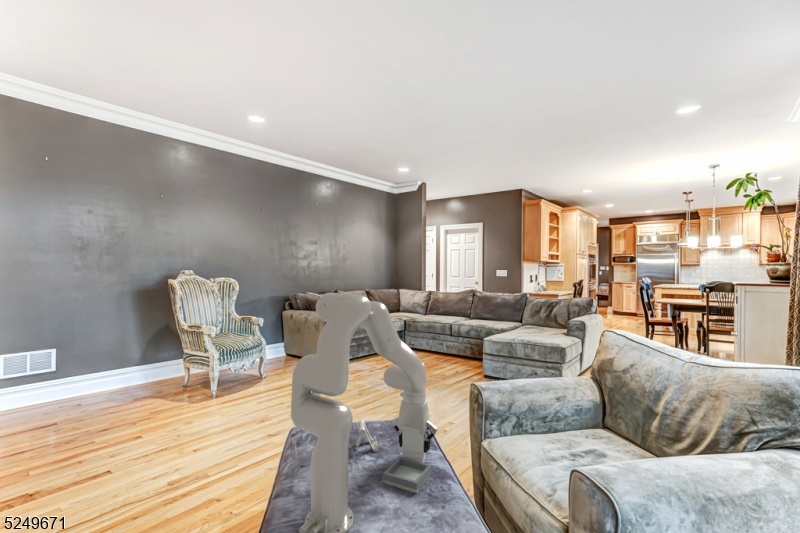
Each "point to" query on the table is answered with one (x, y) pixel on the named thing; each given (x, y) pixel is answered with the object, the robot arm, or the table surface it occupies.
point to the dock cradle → (407, 474)
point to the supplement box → (412, 444)
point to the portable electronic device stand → (363, 432)
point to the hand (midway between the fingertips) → (414, 448)
